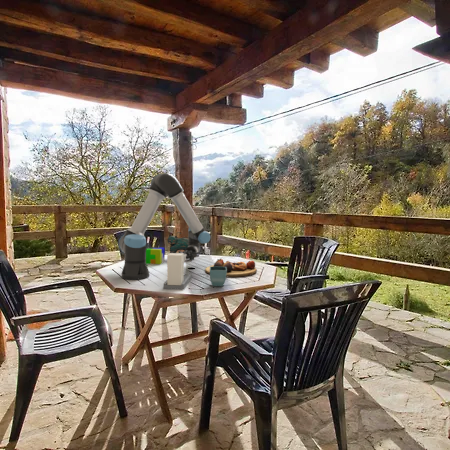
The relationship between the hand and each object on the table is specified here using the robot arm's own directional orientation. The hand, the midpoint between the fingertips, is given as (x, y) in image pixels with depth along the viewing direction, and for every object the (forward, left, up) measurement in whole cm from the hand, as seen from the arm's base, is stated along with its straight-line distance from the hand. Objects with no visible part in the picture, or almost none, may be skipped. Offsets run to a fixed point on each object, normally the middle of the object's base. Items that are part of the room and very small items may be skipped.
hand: (183, 258), depth 177 cm
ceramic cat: (-12, +56, -11) cm, 59 cm away
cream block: (0, -18, -9) cm, 20 cm away
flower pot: (+21, -12, -11) cm, 26 cm away
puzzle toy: (-27, +40, -11) cm, 50 cm away
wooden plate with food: (+26, +21, -12) cm, 35 cm away
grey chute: (0, -10, -11) cm, 15 cm away
